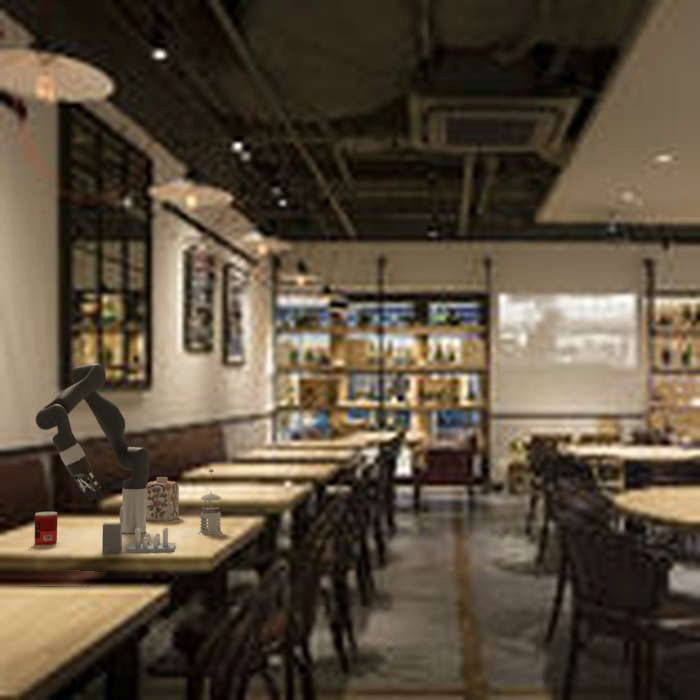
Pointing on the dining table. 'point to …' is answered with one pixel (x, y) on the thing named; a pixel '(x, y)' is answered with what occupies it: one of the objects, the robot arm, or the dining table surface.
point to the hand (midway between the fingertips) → (97, 499)
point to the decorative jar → (162, 500)
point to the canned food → (45, 528)
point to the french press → (210, 515)
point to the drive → (112, 538)
